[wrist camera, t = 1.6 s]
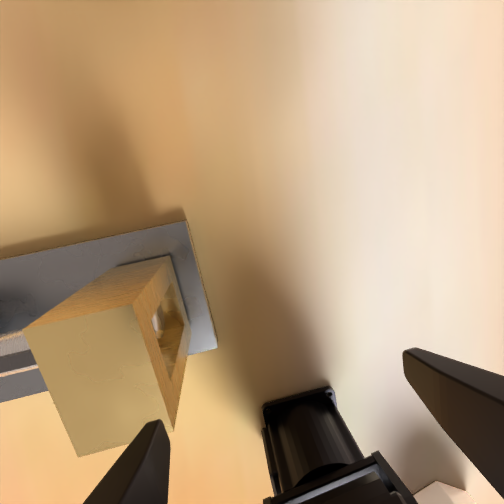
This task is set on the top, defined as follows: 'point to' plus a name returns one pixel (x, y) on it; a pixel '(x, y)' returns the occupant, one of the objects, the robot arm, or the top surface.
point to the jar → (443, 495)
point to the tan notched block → (114, 354)
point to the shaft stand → (79, 275)
